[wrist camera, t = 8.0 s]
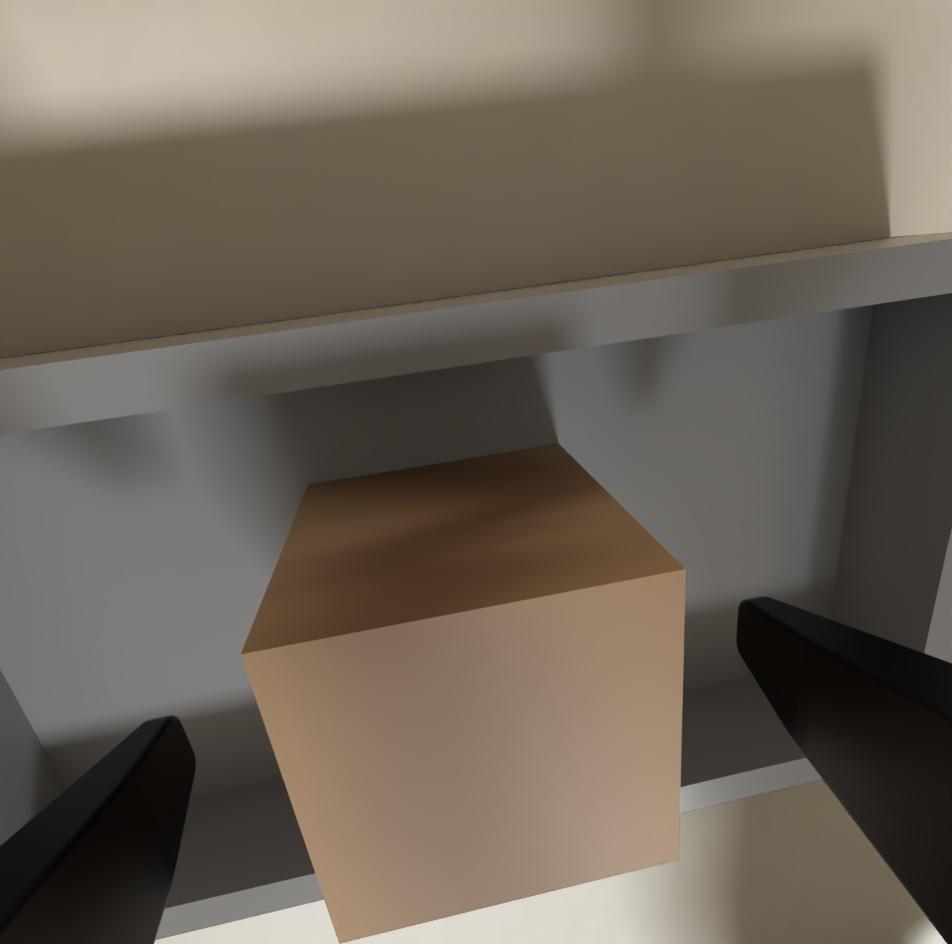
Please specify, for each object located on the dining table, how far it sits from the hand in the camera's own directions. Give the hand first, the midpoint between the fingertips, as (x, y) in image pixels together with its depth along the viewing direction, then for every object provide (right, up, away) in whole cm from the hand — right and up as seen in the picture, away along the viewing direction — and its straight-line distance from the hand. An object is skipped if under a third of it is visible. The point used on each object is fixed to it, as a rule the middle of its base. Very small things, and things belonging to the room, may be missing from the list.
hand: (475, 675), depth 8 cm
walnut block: (-1, +1, +3) cm, 3 cm away
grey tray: (-1, +1, +4) cm, 4 cm away
